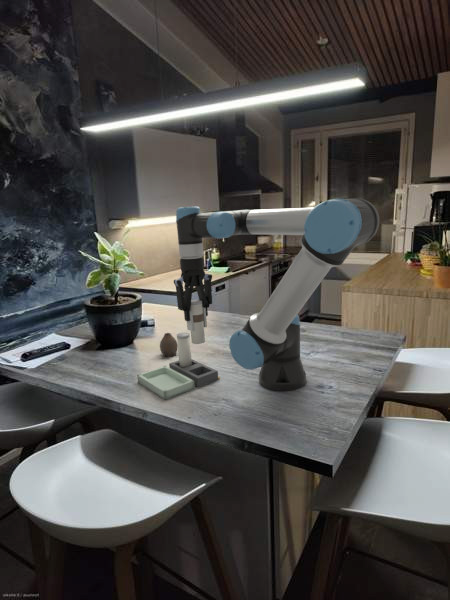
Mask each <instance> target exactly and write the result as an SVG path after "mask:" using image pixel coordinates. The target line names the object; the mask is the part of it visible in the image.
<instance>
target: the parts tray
mask: <svg viewBox="0 0 450 600" xmlns="http://www.w3.org/2000/svg"><path fill="white" fill-rule="evenodd" d="M137 383H139V384H140V385H142V386H143V387H145V388H146V389H148V390H150V391H151V392H153V393H154V394H156V395H157V396H159V397H161V398H162V399H164V400H165V399H166V400H168V399H171V398H173V397H176V396H179V395H181V394H183V393H186V392H190V391H192V390H194V389H196V388H195V387H196V385H195V384H194V380H192V379H190V378H188V377H186V376H184V375H182V374H180V373H178V372H177V371H175V370H173V369H171V368H170V367H169V366H167V365H164V366H161V367H157V368H155V369H151V370H148V371H145V372H141V373H139V374H137Z"/></svg>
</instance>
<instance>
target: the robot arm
mask: <svg viewBox="0 0 450 600" xmlns="http://www.w3.org/2000/svg"><path fill="white" fill-rule="evenodd" d="M175 211H176V212H175V215H176V217H175V219H176V220H175V223H176V230H177V231H176V232H177V239H178V240H177V241H178V253H179V257H180V259H179V264H180V265H179V266H180V271H181V274H180V277H179V278H177V279H174V280H173V283H174V285H175V291H176V302H177V309H178V310H180V311H183V315H184V321H185V322H186V327H187V331H190V332H191V331H194V324H193V311H190V307H191V300H192V296H193V290H194V289H196V294H197V295H198V300H202V308H203V319H204V320H203V321H204V328H207V327H208V323H207V322H208V321H207V317H208V315H209V314H208V313H209V311H208V308H210V305H212V304H213V295H212V293H213V292H212V279H213V275H212V274H209V273H206V272H205V258H204V257H203V256H204V245H203V243H204V242H203V239H218V240H219V239H226V238H230V237H232V236H237V235H271V236H272V235H273V236H281V235H282V236H302V237H301V238H300V243H301V244H300V245H301V249H300V251H299V252H298V254H297V255H296V256H295V259H294V260H293V261H292V263H291V264H290V266H289V267H288V269H287V271H286V272H285V273H284V275H283V276H282V278H281V279H280V281H279V283H278V284H277V286H276V287H275V289H274V290H273V292H272V293H271V294H270V296H269V298H268V299H267V301H266V303H265V304H264V305H263V307H262V309H261V310H260V312H256V313H253V314H251V315H250V317H249V319H248V320H247V321H246V323H245V325H244V326H243V328H241V329H240V330H237V331H235V332H234V333H233V334H232V335H231V337H230V339H229V343H228V344H229V345H228V346H229V350H230V354H231V357H232V358H233V360H234V362H236V364H238V366H240V367H241V368H243V369H246V370H249V371H251V370H256V369H259V368H260V371H259V372H258V382H259V385H261V386H262V387H264V388H266V389H268V390H272V391H279V392H281V391H283V392H284V391H294V390H298V389H300V388H302V387H304V386H305V385H306V384H307V375H306V371H305V370H304V369H305V368H304V366H303V362H302V360H301V323H300V316H299V315H298V314H299V313H300V312H301V310H302V308H303V307H304V306H305V304H306V303H307V301H308V300H309V299H310V298H311V296H312V295H313V293H314V292H315V290H316V289H318V286H319V285H320V283H322V281H323V280H324V278H325V277H326V276H327V274H328V273H329V272H330V270H331V269H332V268H335V267H340V266H342V265H343V264H344V262H345V261H346V259H347V258H348V257H349V255H350V254H351V252H353V250H354V249H355V248H356V247H357V246H361V245H364V244H366V243H368V242H369V241H370V240H372V238H373V237H375V236H376V234H377V232H378V229H379V226H380V216H379V212H378V210H377V208H376V207H375V206H374V204H372V203H371V202H370V201H368V200H366V199H363V198H359V197H358V198H345V199H344V198H331V199H328V200H325V201H322V202H321V203H318V204H317V205H316V206H314V207H295V208H291V207H289V208H269V209H268V208H267V209H265V208H263V209H239V210H238V209H237V210H225V211H213V212H212V211H211V212H209V211H208V212H201V208H200V207H199V206H184V207H183V206H182V207H178V208H176V210H175ZM183 285H184V286H183ZM194 287H195V288H194Z"/></svg>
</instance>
